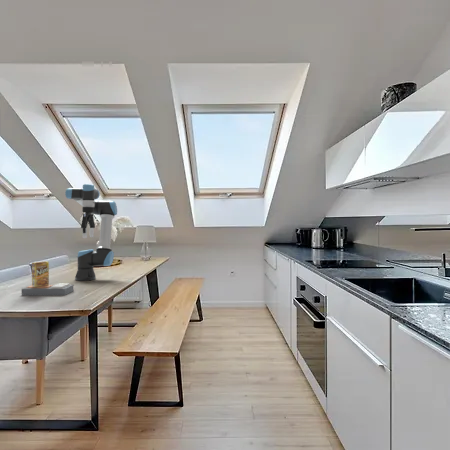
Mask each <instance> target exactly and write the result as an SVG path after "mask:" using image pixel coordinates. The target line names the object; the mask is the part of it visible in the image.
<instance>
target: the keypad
mask: <svg viewBox="0 0 450 450" xmlns="http://www.w3.org/2000/svg"><path fill="white" fill-rule="evenodd" d="M52 285H53V286H51V287H50V288H27V287H28V286H26V287H22V288H21V296H66V295H68V294H70V293H72V292H74V284H70V283H69V282H65V283H63V282H61V283H60V282H59V283H56V284H52Z"/></svg>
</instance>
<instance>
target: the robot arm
mask: <svg viewBox="0 0 450 450" xmlns="http://www.w3.org/2000/svg"><path fill="white" fill-rule="evenodd" d="M100 195H101V193H100V191H99V190H98V189H96V188H95V185H94V184H92V183H84V184H82V188H81V187H80V188H79V187H77V188H75V187H74V188H73V187H69V188H66V189H65V198H66V199H68V200H74V201H75V203H78V204H79V205H80V206H81V207H82V220H81V226H80V228H81V229H82V232H81V233H82V235H81V237H82V239H88V237H89V238H95V237H94V234H95V233H94V230H95V228H96V226H95V219H94V218H95V217H94V215H99V217H100V219H101V220H100V227H99V228H100V229H99V240H98V247H96V251H95V250H94V249H86V250H79V251H78V252H77V269H76V270H77V271H76V273H75V276H74V280H75V281H78V282H79V281H80V282H85V281H86V282H87V281H93V280H96V279H97V276H96V273H95V270H94V267H110V266H111V265H113V261H114V257H115V256H114V255H115V254H114V253H115V252H114V251H113V249H112V248H111V242H112V241H111V239H112V228H113V219H115V217H116V216H117V215H118V208H117V203H116V202H115V201H114V200H97V199H98V198H100ZM88 225H89V228H87V227H88ZM88 231H89V234H88ZM88 235H89V236H88Z"/></svg>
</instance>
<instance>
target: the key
mask: <svg viewBox="0 0 450 450" xmlns="http://www.w3.org/2000/svg"><path fill="white" fill-rule="evenodd" d="M53 285H54V284H49V285H47V286H39V287H32V284H31V285H29V286H26V287H27V288H50V287H51V286H53Z"/></svg>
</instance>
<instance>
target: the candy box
mask: <svg viewBox="0 0 450 450" xmlns="http://www.w3.org/2000/svg"><path fill="white" fill-rule="evenodd" d="M49 265H50V262H49V261H36V262H32V263H31V285H32V287H39V286H47V285H50V283H49V282H50V268H49V267H50V266H49Z"/></svg>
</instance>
